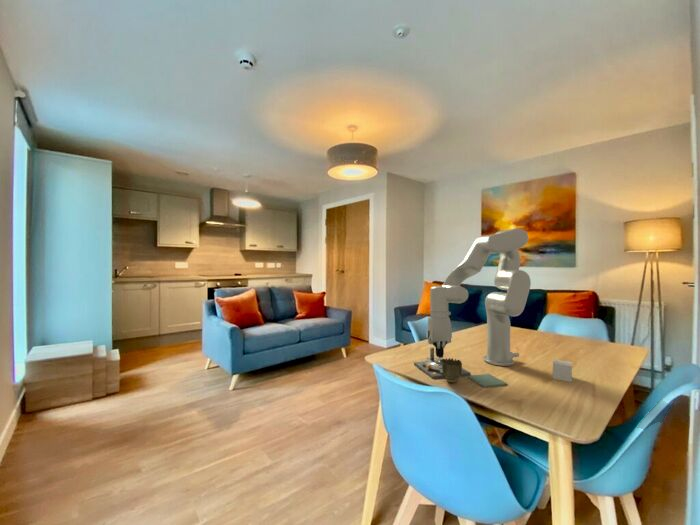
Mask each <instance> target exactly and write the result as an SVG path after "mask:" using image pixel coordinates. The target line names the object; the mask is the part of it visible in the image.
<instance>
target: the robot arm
mask: <svg viewBox="0 0 700 525" xmlns="http://www.w3.org/2000/svg"><path fill="white" fill-rule="evenodd" d="M528 242H529V235H528V233H527V231H526V230H525V229H523V228H511V229H505V230H500V231H496V232H495V233H494V234H493V233H492V234H487V235H481V236H479V237H477V238H476V239H475V240H474V242H473V243H472V245H471V247H470V248H469V250H468V251H467V253H466V255H465V256H464V259H463V260H462V261H461V263H460V264H459V265H457V266H456V267H455V268H454V269H453V270H452V271H451V272H450V273H449V274H448V275H447V277H446V278H445V280H444V282H443V283H442V285H441V286H440V285H435V286H431V287H430V290H429V291H430V296H429V297H430V300H429V301H430V310H429V311H430V313H429V314H430V316H429V317H428V319H427V324H426V339H427V343H428V344H429V345H432V346H433V347H434V348H435V356H436V358H443V359H444V351H445V348H446V346H447V344H451V343H452V339H453V338H452V337H453V336H452V334H453V332H452V323H451V318H450V316H451V315H452V313H451V311H449V303H451V304H462V303H465V302H466V301H467V300H468V298H469V292H468V290H467V289H466V288H465V287H463V286H461V284H462V283H463V282H464V281H466V280H467V279H470V278H471V277H473V276H475V275H477V274H479V273H480V272H481V271H482V269H483V267H484V265H485V264H486V262H487V260H488V259H489V257H490V255H498V254H499V261H498V266H497V268H496V273H495V275H494V276H495V277H494V280H493V281H494V282H493V283H494V286H495V287H496V288H497V289H499V290H503V291H506V292H501V291H493V292H490V293H489V294H488V295H486V297H485V299H484V307H485V312H486V330H487V331H486V355H483V359H482V360H483V361H484V362H486V363H487V364H490V365H495V366H498V367H499V366H501V367H502V366H503V367H509V366H513V365H514V364H515V360H514V359H513V358H519V357H520V353H519V352H512V351H511V320H510V317H518V316H520V315H521V314H522V313H523V312H524V310H525V307H526V304H527V301H528V297H529V293H530V289H531V283H532V282H531V277H530V274H529V273H527V272H526V271H524V270H521V269H520V266H521V256H520V253H519V251H518V249H521V248H523V247H525V246H526V245H527V243H528Z"/></svg>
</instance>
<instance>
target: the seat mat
mask: <svg viewBox="0 0 700 525" xmlns="http://www.w3.org/2000/svg"><path fill="white" fill-rule="evenodd" d="M466 378H467V379H469V380H470V379H471V380H470V381H472V382H474V383H475V382H476V383H475V384H477V385H479V386H480V385H481V386H480V387H482V386H483V387H485V388H491V387H490V386H495V387H501V386H502V385H504V386H508V383H507V382H505V381H503V380H502V379H499V377H496V376H494V375H492V374H490V373H482V374H470V375H467V376H466ZM483 387H482V388H483ZM502 387H503V386H502Z"/></svg>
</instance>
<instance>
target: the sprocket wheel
mask: <svg viewBox="0 0 700 525" xmlns="http://www.w3.org/2000/svg"><path fill="white" fill-rule="evenodd" d="M429 351H430V352H429V357H426V359H425V360H422V361H421V362H422V365H424V366H425V367H426V369H427V370H433V371H438V372H440V373H443V370H442V361H441V360H442V359H445V360H446V358H444V357H443V358H439V357H435V347H430V348H429ZM448 359H449V358H447V360H448ZM453 360H454V361H455V359H453Z"/></svg>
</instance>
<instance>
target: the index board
mask: <svg viewBox="0 0 700 525" xmlns="http://www.w3.org/2000/svg"><path fill="white" fill-rule="evenodd" d="M413 365H414V366H416V367H417V368H418V369H419V370H421V372H423V373H424V374H425V375H427V376H428V377H430V378H431V379H433V380H434V379H442V378H443V379H444V378H446V377H445V376H444V374H443V373H440V372H438V371H433V370H427V369H426V367H425V366H424V365H422V361H414V362H413ZM470 375H471V372H470V371H469V370H466V369H465V368H463V367H462V369H461V375H460V377H463V376H464V377H465V376H466V377H467V376H470Z"/></svg>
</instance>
